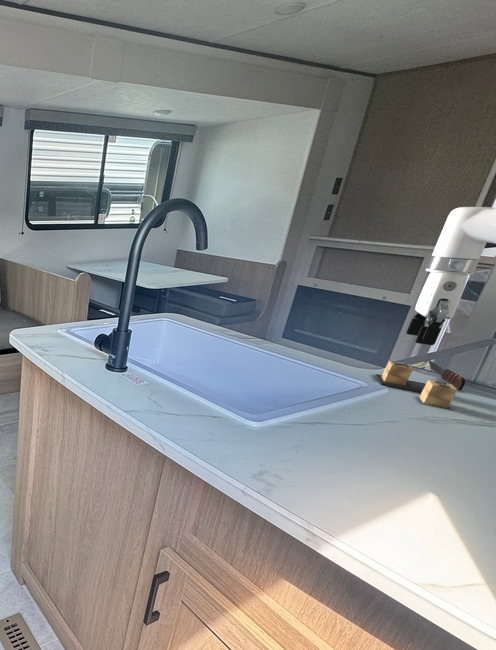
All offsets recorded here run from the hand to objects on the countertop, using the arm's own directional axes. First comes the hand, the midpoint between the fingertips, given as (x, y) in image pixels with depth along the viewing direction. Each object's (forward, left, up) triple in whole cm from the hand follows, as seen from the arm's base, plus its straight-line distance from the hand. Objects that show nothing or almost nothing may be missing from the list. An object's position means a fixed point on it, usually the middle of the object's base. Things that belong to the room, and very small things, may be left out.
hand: (419, 339), depth 102 cm
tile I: (-5, +9, -12) cm, 16 cm away
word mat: (-2, -1, -12) cm, 12 cm away
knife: (-11, -13, -12) cm, 21 cm away
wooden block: (+1, -1, -11) cm, 11 cm away
